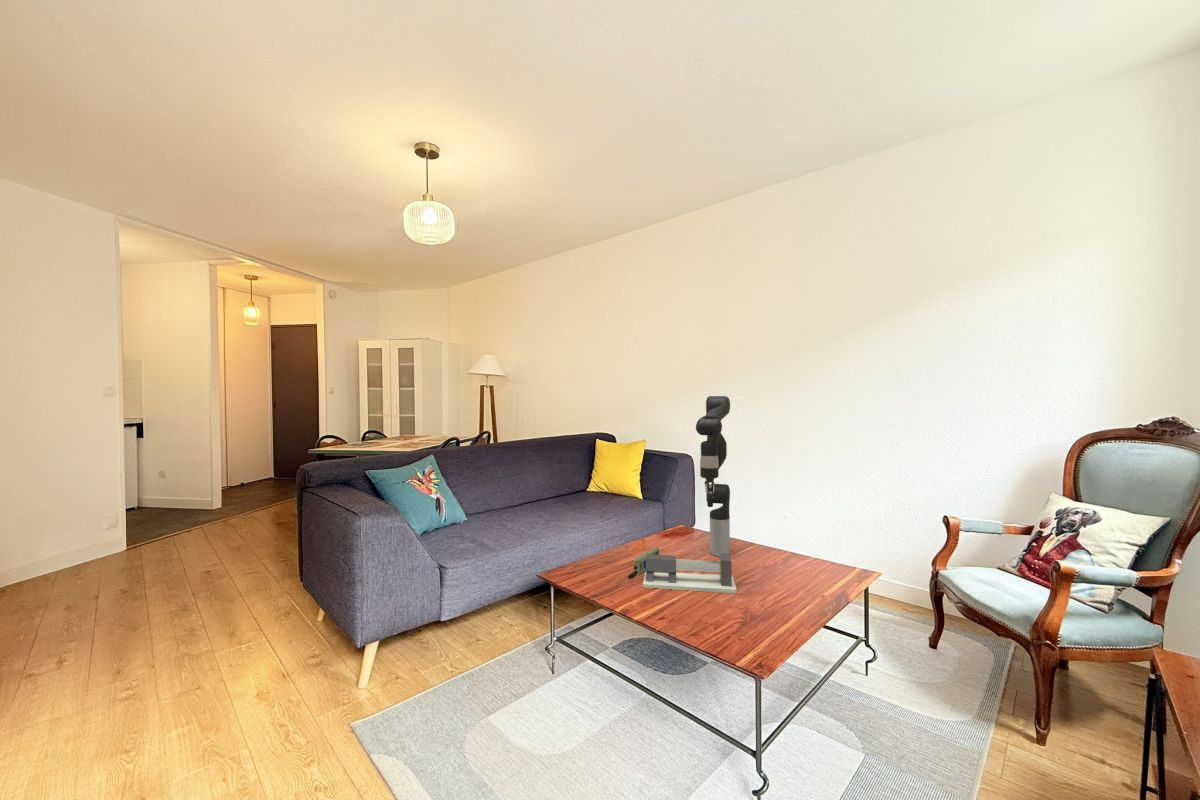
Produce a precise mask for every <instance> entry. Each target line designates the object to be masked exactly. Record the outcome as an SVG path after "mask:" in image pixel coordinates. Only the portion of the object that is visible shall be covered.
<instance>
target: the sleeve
mask: <svg viewBox="0 0 1200 800" xmlns="http://www.w3.org/2000/svg"><path fill="white" fill-rule="evenodd" d="M676 559H677V555H668V554H659V555H653V554H647V556H646V571H645V572H646V581H649V582H653V581H654V575H655V572H656V573H668V583H676V573H677V570H676Z"/></svg>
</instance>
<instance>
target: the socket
mask: <svg viewBox="0 0 1200 800" xmlns="http://www.w3.org/2000/svg"><path fill="white" fill-rule="evenodd" d="M719 561H720V563H721V573H719V575H720V582H721V586H732V576H733V575H732V571H733V570H732V569H733V568H732V566H733V565H732V557H731V553H730V554H721V553H720V556H719Z"/></svg>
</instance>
